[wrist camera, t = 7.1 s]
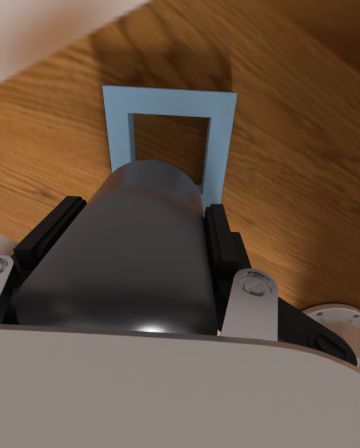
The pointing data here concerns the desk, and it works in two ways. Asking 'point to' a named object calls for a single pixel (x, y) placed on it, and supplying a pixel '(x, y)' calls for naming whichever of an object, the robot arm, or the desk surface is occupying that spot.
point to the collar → (179, 106)
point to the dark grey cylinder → (129, 260)
